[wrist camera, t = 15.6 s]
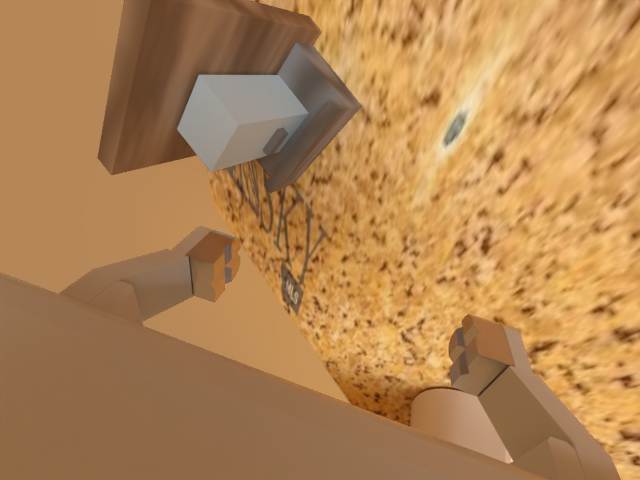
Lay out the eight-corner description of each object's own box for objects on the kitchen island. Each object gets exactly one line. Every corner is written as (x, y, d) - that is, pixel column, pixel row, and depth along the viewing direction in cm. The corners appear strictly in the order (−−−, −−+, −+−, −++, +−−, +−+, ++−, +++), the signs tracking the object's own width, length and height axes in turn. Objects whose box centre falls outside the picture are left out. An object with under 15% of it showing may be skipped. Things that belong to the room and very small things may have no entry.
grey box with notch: (313, 119, 31) (244, 133, 24) (283, 157, 35) (216, 179, 28) (278, 75, 32) (198, 74, 24) (252, 117, 35) (176, 129, 28)
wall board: (371, 94, 30) (241, 108, 17) (288, 189, 41) (166, 245, 27) (308, 16, 31) (129, -32, 17) (241, 130, 41) (97, 157, 28)
